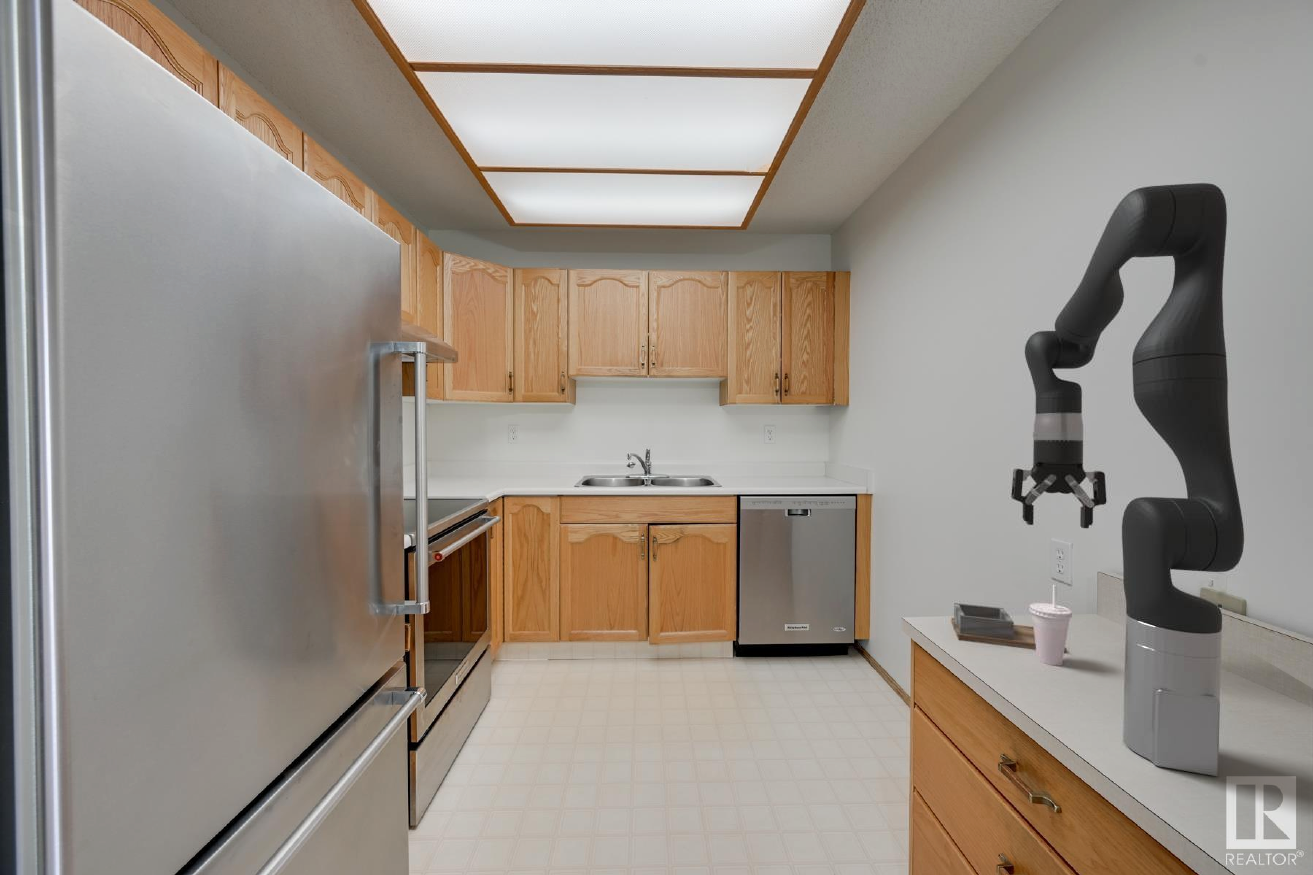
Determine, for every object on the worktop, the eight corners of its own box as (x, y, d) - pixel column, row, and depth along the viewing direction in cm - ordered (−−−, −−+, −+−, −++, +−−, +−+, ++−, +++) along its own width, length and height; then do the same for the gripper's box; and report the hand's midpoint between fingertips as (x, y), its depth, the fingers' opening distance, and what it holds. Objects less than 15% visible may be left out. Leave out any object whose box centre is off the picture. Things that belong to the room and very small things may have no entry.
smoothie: (1070, 671, 99) (1072, 591, 99) (1026, 662, 103) (1028, 585, 103) (1071, 660, 104) (1073, 583, 104) (1029, 651, 108) (1031, 577, 108)
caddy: (1065, 653, 107) (1066, 629, 107) (958, 639, 114) (959, 617, 114) (1048, 633, 118) (1049, 611, 118) (951, 622, 124) (951, 601, 124)
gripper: (1017, 437, 105) (1016, 526, 104) (1112, 438, 99) (1111, 531, 99) (1009, 438, 112) (1008, 521, 111) (1097, 439, 106) (1096, 526, 106)
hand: (1056, 526), depth 105 cm, fingers open, 8 cm apart
